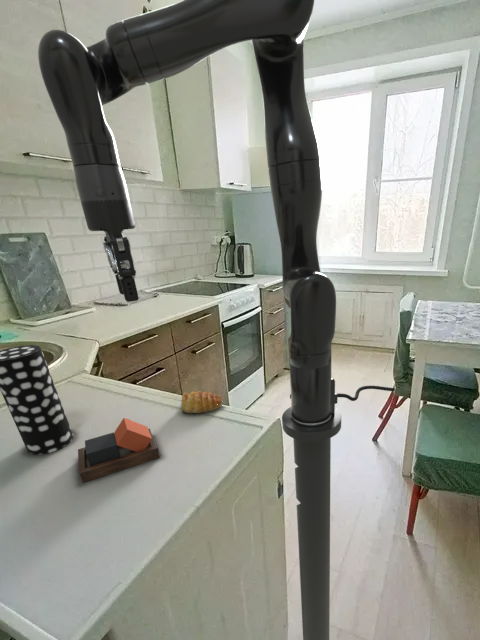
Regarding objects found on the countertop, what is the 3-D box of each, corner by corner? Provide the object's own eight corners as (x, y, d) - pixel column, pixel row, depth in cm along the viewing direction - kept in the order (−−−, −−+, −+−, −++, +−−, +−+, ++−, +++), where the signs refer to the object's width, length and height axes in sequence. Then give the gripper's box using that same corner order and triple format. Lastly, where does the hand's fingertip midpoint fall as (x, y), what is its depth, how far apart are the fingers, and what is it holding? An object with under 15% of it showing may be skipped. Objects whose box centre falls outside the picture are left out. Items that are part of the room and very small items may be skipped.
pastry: (223, 399, 88) (221, 385, 86) (221, 412, 82) (219, 398, 80) (185, 402, 87) (182, 388, 85) (180, 416, 81) (177, 401, 79)
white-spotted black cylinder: (70, 427, 79) (38, 342, 70) (76, 443, 73) (42, 352, 64) (26, 441, 74) (-14, 352, 66) (28, 460, 68) (-15, 364, 60)
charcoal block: (118, 447, 69) (113, 432, 68) (121, 460, 65) (116, 444, 64) (90, 455, 67) (84, 440, 65) (91, 470, 63) (85, 454, 62)
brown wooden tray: (151, 437, 74) (149, 428, 73) (160, 457, 67) (157, 448, 66) (81, 458, 68) (77, 449, 67) (82, 483, 61) (78, 473, 61)
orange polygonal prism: (138, 441, 71) (147, 426, 71) (142, 453, 67) (152, 438, 67) (113, 432, 68) (123, 417, 68) (116, 445, 64) (127, 429, 64)
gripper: (135, 195, 55) (157, 300, 62) (124, 200, 66) (143, 289, 73) (81, 196, 51) (110, 307, 58) (79, 202, 63) (104, 294, 70)
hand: (129, 297), depth 66 cm, fingers open, 8 cm apart
